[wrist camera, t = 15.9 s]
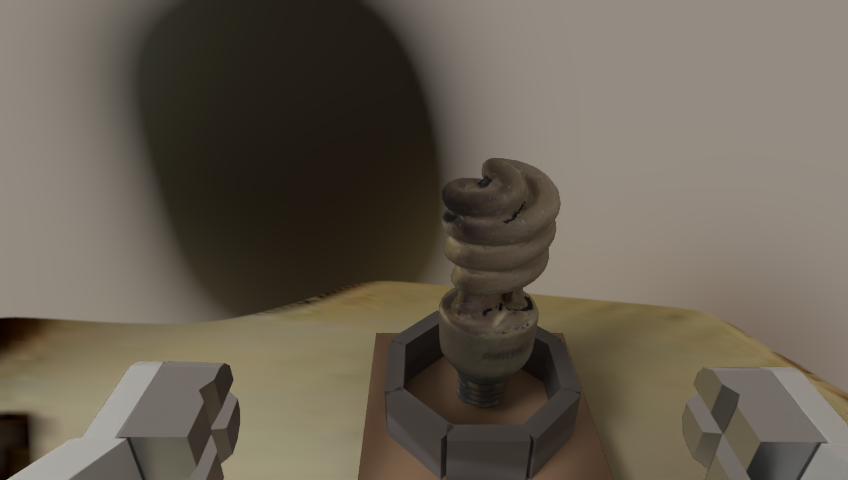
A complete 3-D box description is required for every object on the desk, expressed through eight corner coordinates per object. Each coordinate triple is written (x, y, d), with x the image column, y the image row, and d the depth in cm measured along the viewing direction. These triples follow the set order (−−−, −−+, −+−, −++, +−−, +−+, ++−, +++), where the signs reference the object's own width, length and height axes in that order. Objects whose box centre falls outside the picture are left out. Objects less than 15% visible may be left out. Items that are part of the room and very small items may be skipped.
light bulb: (499, 361, 35) (518, 138, 28) (552, 419, 31) (591, 173, 24) (421, 389, 33) (421, 154, 26) (466, 456, 28) (482, 195, 21)
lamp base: (356, 523, 27) (350, 463, 25) (377, 349, 38) (374, 298, 36) (616, 523, 27) (633, 463, 25) (559, 349, 38) (568, 298, 36)
